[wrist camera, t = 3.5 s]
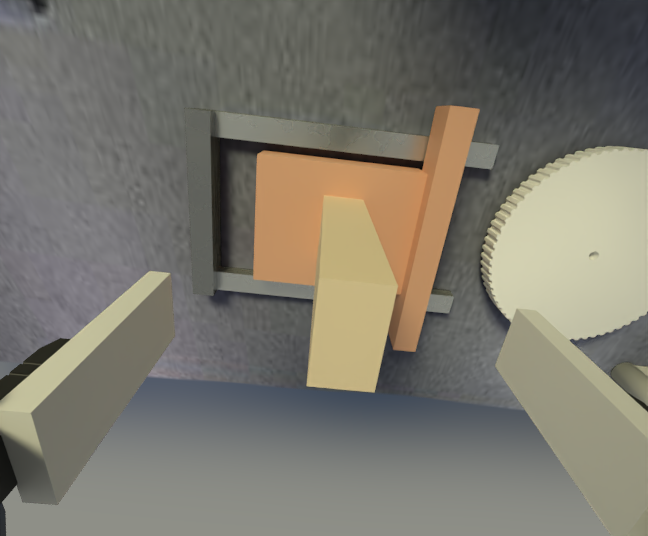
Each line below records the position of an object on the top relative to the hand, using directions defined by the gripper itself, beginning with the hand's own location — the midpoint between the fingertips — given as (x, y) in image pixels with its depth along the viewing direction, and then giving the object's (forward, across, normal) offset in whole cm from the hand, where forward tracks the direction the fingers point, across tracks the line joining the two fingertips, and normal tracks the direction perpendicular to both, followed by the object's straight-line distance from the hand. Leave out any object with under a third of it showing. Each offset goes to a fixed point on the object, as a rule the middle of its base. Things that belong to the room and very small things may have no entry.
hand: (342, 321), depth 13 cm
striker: (+13, +1, +1) cm, 13 cm away
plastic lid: (+14, +18, 0) cm, 22 cm away
